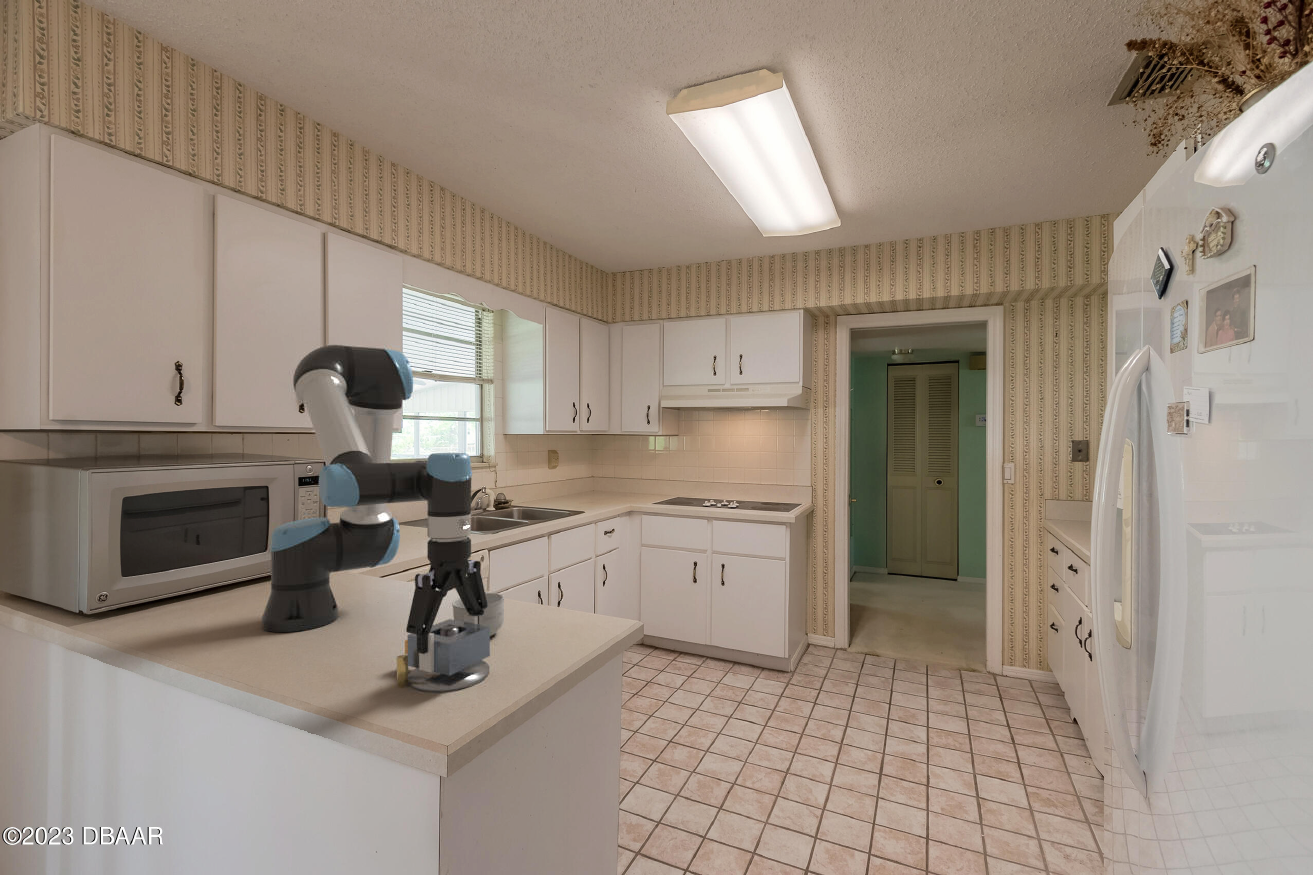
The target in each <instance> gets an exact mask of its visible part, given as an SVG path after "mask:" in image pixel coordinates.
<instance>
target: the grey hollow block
mask: <svg viewBox="0 0 1313 875" xmlns="http://www.w3.org/2000/svg"><path fill="white" fill-rule="evenodd" d="M451 625H454V626H458V627H459V634H456V635H454V636H451V637H446V636H441V635H440V629H441V628H442V627H445V626H451ZM430 633H434V671H432V672H436V673H440V674H444V675H448V676H450V675H452V674H454V673H456V672H458V671H460V670H462V669H464V668H466V667H469V666H471V665H473V664H475V663H477V662H479V661H481V660H482V661H484V660H485V659H487V658H489V657H491V656H490V655H491V641H490V640H491V636H490V626H484V625H479V624H473V623H468V622H463V621H457V620H454V619H453V618H448V619H446V620H443V621H441V622H438V623H436V624H433V626H432V628H431V631H430ZM404 655H408V667H411V668H414V669H415V668H419V653H418V652H417V636H416V634H412V633H408V634H407V639H405V640H404Z"/></svg>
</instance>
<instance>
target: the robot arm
mask: <svg viewBox="0 0 1313 875" xmlns="http://www.w3.org/2000/svg"><path fill="white" fill-rule="evenodd" d="M411 366H412V365H411V364H410V362H409V359H408V357H407V356H406V355H405V354H404V353H403V352H401V351H398V350H392V349H389V348H388V349H387V348H380V347H379V348H378V347H365V346H364V347H363V346H351V345H350V346H349V345H343V344H329V345H324V346H320V347H318V348H316V349H314V350H312V351H310V352H309V353H308V354H306V355H305V356H304V357H303V358H302V359H301V360H300V361H299V363H298V364H297V365H296V368H295V370H294V373H293V378H292V379H293V380H292V382H293V384H292V386H293V389H294V393H295V395H296V398H297V399H298V401H299V402H301V403H302V404H303V405H305V407H306V411H307V413H308V416H309V419H310V421H311V424H312V428H313V430H314V434H315V435H316V439H317V443H318V445H319V447H320V448H319V449H320V450H321V454H322V456H323V457H322V458H323V459H324V462H325V464H326V465H324V466H323V467H322V468H321V470H320V472H319V475H318V491H319V497H320V500H321V502H322V504H323V505H325V507H328V508H340V507H341V508H343V507H344V510H342V511H341V512H340V515H339V522H331V521H330V519H329V518H328V517H314V518H311V517H310V518H305V519H304V518H303V519H298V520H295V521H291V522H287V523H284V524H281V525H279V526H277V527H276V528H275V529H273V531H272V533H271V538H270V539H271V540H270V547H269V550H270V568H271V569H270V571H271V572H270V578H271V579H270V580H271V581H270V583H271V584H270V594H269V597H268V599H267V603H266V605H265V608H264V612H263V614H262V617H261V628H262V630H264V631H267V632H273V633H292V632H300V631H305V630H306V631H307V630H310V629H311V630H312V629H315V628H320V627H322V626H326V625H329V624H331V623H333V622H335V621H336V620H337V619H338V618H339V607H338V604H337V601H336V599H335V596H334V593H333V591H332V588H331V585H330V579H331V578H330V576H331V573H335V572H336V573H337V572H344V571H352V570H353V571H354V570H358V569H359V570H360V569H366V568H376V567H377V566H383V565H387V564H389V563H390V562H392V561H393V560H394V558H395V557H396V555H397V553H398V550H399V546H400V540H401V533H400V529H401V528H400V524H399V522H398V520H397V519H396V518H394V517H393V512H391V511H390V509H388V508H387V507H388V504H397V503H398V504H399V503H409V502H410V503H412V502H413V503H414V502H427V530H426V531H427V534H426V535H427V538H428V539H429V538H430V539H429V540H428V541H427V554H426V555H427V560H428V562H429V563H430V567H429V570H428V572H426V573H423V574H421V573H417V574H415V576H414V592H413V597H412V601H411V606H410V611H409V615H408V620H407V624H406V630H405V631H406V633H408V634H416V636H417V652H418V653H419V670H423V671H427V672H432V671H434V633H430V631H431V628H432V626H433V625H434V622H435V620H436V618H437V615H438V613H439V610H440V607H441V604H442V602H443V600H444V598H446V597H447V595H448V592H449V591H452V590H453V589H455V590H456V592H457V595H458V596H459V598H460V599H461V601H462V603H463V605H464V607H465V609H466V611H467V612H468V613H469V615H468V614H466V615H464V622H468V623H473V624H479V615H481V616H482V615H483V614H484V610H483V609H486V608H487V606H488V604H487V600H486V595H485V592H486V591H485V586H484V583H483V578H482V577H483V576H482V572H481V569H482V568H481V567H482V563H481V562H482V561H480V560H473V559H470V558H471V557H472V538H470V537H469V536H471V534H472V476H473V471H472V467H471V466H472V464H471V457H470V455H469V453H466V452H436V453H431V454H429V456H428V457H427V460H415V461H408V462H407V461H406V462H405V461H403V462H391V456H392V446H393V435H394V434H393V433H394V421H395V415H396V414H397V413H398V412H399V411H400V410H402V408H403V401H407V400H410V399H411V397H412V393H413V390H414V377H413V371H412V367H411ZM345 507H346V508H345ZM479 600H480V602H479Z"/></svg>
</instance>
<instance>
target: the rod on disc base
mask: <svg viewBox="0 0 1313 875" xmlns="http://www.w3.org/2000/svg"><path fill="white" fill-rule="evenodd" d="M456 634H459V627H458V626H454V625H451V626H445V627H442V628H441V629H440V635H441V636H446V637H451V636H454V635H456ZM489 675H490V666H489V664H488V663H487V662H486V661H485V660H481V661H479V662H477V663H475V664H473V665H471V666H469V667H466V668H464V669H462V670H460V671H458V672H456V673H454V674H452V675H450V676H448V675H444V674H440V673H436V672H427V671H423V670H419V668H415V667H414V669H413V670H411V671H410V672H409V673H408V686H410V687H411V688H412V689H414V690H417V691H420V692H425V693H447V692H454V691H458V690H464V689H467V688H470V687H472V686H475V685H478V684H479V683H481V682H483V681H484V680H485V679H486V678H487V677H488V676H489Z"/></svg>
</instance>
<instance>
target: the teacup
mask: <svg viewBox="0 0 1313 875" xmlns="http://www.w3.org/2000/svg"><path fill="white" fill-rule="evenodd" d="M485 595H486V600H487V604H488V606H487V608H486V609H483V610H484V614H483V615H482V616H481V615H479V625H484V626H490V637H492V636H494V635H495V634H497V632H498V631H499V630H500V629H501V627H502V626H503V624H504V620H505V609H504V608H505V606H504V599H505V597H504V595H503V594H501V593H498V592H492V591H490V590H489V591H487V590H486V591H485ZM479 602H480V600H479ZM451 605H452V610H453V612H452V614H453V615H452V616H453V620H457V621H463V622H464V615H466V614H468V615H469V613H468V612H467V611H466V609H465V607H464V605H463V603H462V601H461V599H460V597H459V598H457V599H454V600H453V601H452V603H451Z"/></svg>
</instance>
